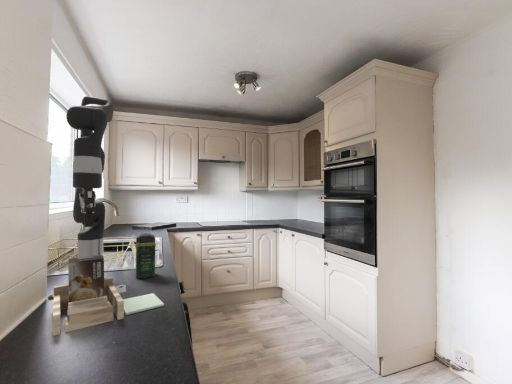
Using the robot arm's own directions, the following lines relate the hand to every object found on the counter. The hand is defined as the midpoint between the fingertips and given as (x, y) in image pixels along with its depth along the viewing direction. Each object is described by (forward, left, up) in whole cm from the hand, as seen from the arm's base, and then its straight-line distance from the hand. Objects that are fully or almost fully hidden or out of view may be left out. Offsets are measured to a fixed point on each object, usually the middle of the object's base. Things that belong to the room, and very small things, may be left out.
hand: (87, 225), depth 81 cm
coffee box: (0, 0, -26) cm, 26 cm away
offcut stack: (+9, 0, -26) cm, 27 cm away
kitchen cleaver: (-16, +2, -26) cm, 31 cm away
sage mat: (+4, +14, -26) cm, 30 cm away
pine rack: (+2, 0, -26) cm, 26 cm away
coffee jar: (-28, +24, -26) cm, 45 cm away
